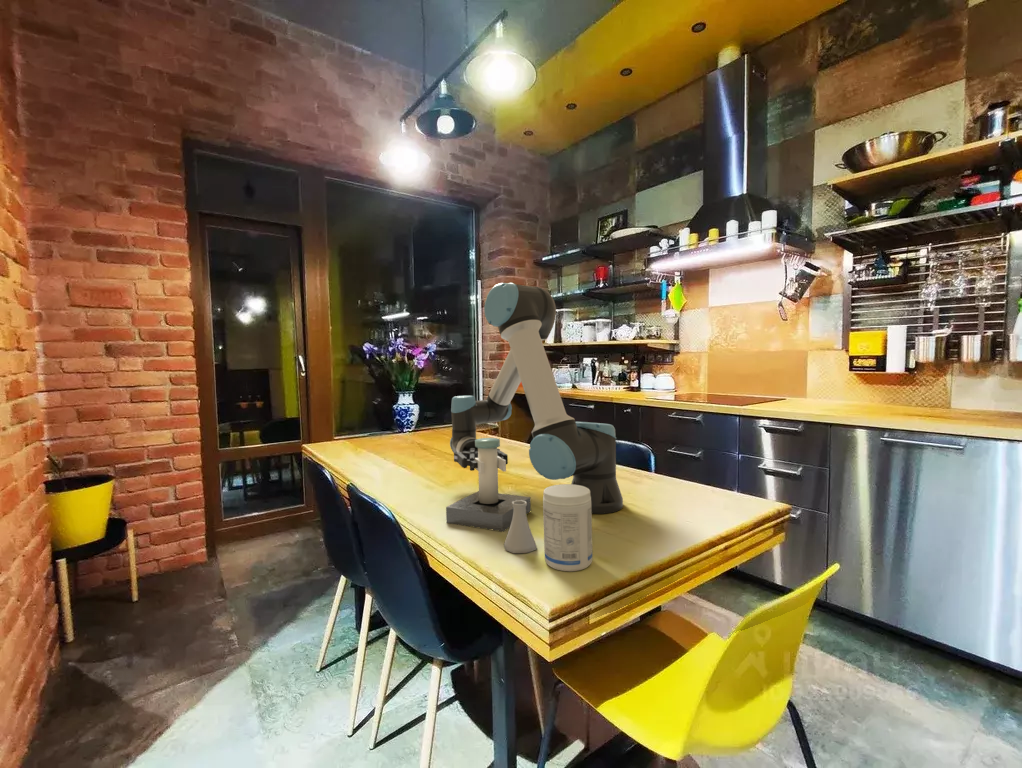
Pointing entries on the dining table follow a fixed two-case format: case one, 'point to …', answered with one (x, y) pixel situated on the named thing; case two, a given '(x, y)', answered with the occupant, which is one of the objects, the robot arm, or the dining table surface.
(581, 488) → the supplement tub
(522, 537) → the flask
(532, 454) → the robot arm
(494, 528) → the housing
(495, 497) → the teal-capped white peg
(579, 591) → the dining table surface
